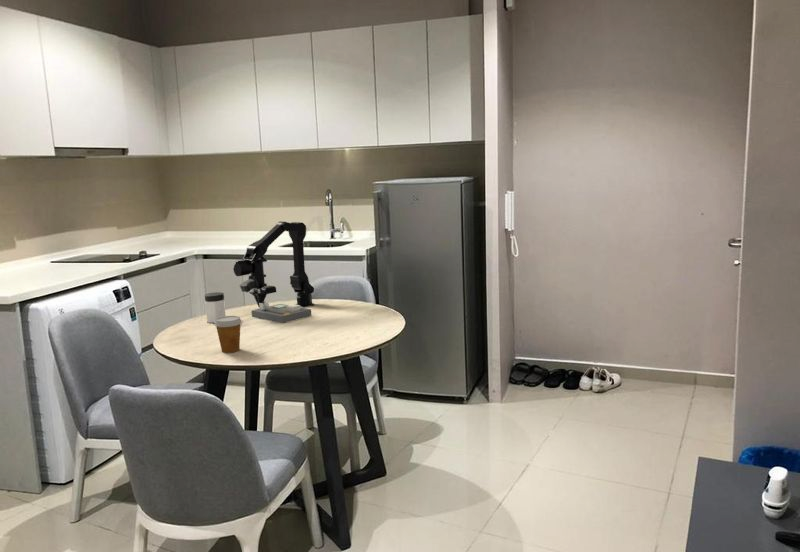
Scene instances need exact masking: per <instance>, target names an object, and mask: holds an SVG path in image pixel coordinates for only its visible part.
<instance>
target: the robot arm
mask: <svg viewBox="0 0 800 552" xmlns="http://www.w3.org/2000/svg"><path fill="white" fill-rule="evenodd" d="M284 232H288V236H289V238H290V240H291V241H292V253H293V255H292V256H293V274H292V275H290V276H289V280H290V281H289V285H291V286H290V287H291V288H292V289H293V291H294V293H296V304H295V305H300V307H301V308H307V307H309V306H313V305H315V303H314V302H313V298H312V294H313V293H314V291H315V288H314V286H312V285H311V284H310V281H309V276H308V274H307V272H306V268H305V252H304V249H305V248H304V240H305V237H306V235H307V226H306V224H305V223H304V222H300V221H298V222H297V221H295V222H294V221H292V222H287V221H278V222H277V223H275V226H273V227H272V228H271V229H270V230H269V231H268V232H267V233H266V234H264V235H263V236H262V238H260V239H259V240H256V241H254V242H252V243H251V244H249V245H248V246H247V247H246V251H245V253H244V255H243V257H242V259H241V260H235V264H234V266H233V273H234V275H235V276H236V277H243V276H247V275H248V279H247V280H244V282H242V283H240V284H239V287H240V290H241V292H242V293H243V292H244V293H249V294H250V295H251V296H253V297H254V300H255V302H256V304H257V306H258V308H260V307H259V303H261V302H265V299H266V298H267V295H269V294H274V293H277V287H276V286H275V285H271V284H270V285H268V283H265V282H266V281H265V278H266V277H267V274H265V272H264V263H266V262H268V259H266V258H265V257H264V256H265V255H266V253H267V252H268V248H269V247H270V246H271V245H272V244H273V243H274V242H275V241H276V240H277V239H278V238H279V237H280V236H282V234H283V233H284Z"/></svg>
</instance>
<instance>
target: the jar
mask: <svg viewBox="0 0 800 552" xmlns="http://www.w3.org/2000/svg"><path fill="white" fill-rule="evenodd" d="M204 301H205V302H204V303H205V312H206V315H205V316H206V322H207V323H209V324H210V323H211V324H215V321H216V319H217V318H220V317H224V316H227V315H226V306H225V304H226V303H225V293H224V292H221V291H218V292H217V291H216V292H208V293H205V294H204Z"/></svg>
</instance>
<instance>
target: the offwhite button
mask: <svg viewBox="0 0 800 552" xmlns="http://www.w3.org/2000/svg"><path fill="white" fill-rule="evenodd" d="M288 305H289V304H288ZM300 307H301V306H300V305H296V304H290V305H289V306H286V311H292V312H293V311H297V310H301V308H302V307H301V308H300Z"/></svg>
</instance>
